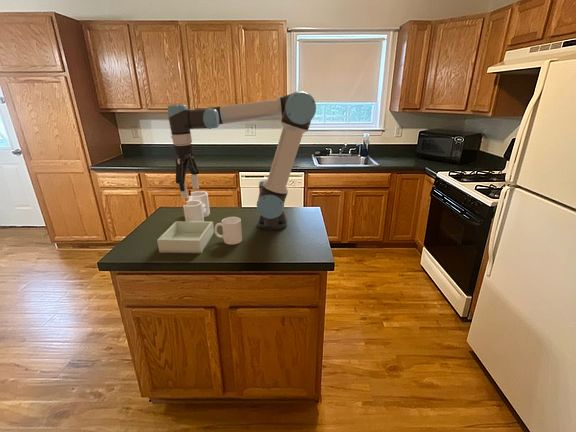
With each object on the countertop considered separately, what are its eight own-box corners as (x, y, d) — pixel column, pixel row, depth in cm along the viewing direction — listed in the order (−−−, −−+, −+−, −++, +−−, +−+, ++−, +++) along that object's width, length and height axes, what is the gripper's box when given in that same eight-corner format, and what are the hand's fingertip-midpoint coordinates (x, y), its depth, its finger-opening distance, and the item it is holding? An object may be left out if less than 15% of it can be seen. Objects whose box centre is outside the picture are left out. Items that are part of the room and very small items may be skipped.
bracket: (204, 228, 153) (201, 205, 149) (184, 229, 153) (181, 206, 148) (211, 210, 176) (208, 190, 172) (193, 211, 176) (191, 191, 171)
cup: (241, 244, 136) (239, 223, 133) (213, 245, 136) (211, 224, 132) (243, 236, 144) (241, 216, 140) (217, 237, 144) (215, 217, 140)
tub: (214, 233, 148) (213, 221, 146) (201, 253, 129) (199, 240, 127) (177, 232, 149) (175, 221, 147) (159, 252, 130) (157, 239, 128)
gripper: (185, 140, 140) (192, 185, 148) (160, 149, 117) (170, 202, 124) (201, 139, 139) (207, 184, 147) (179, 149, 116) (188, 202, 124)
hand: (190, 193), depth 136 cm, fingers open, 13 cm apart
